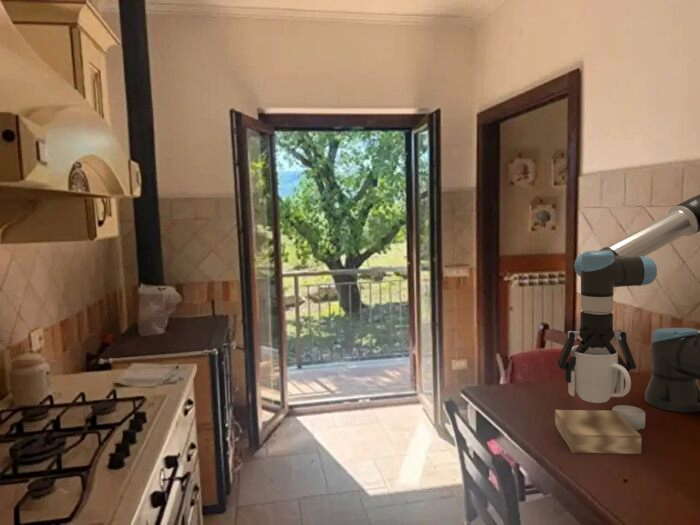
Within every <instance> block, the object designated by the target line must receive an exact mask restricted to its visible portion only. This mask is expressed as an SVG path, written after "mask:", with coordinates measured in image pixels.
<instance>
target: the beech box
mask: <svg viewBox="0 0 700 525" xmlns="http://www.w3.org/2000/svg"><path fill="white" fill-rule="evenodd" d="M554 415H555V416H554V421H555V422H554V426H555V428H556V429H557V431H558V433H559V434H560V435H561V437H562V439H563V440H564V441H565V443H566V445H567V446H568V448H569V450H570V451H571V453H577V454H579V453H580V454H581V453H587V454H588V453H589V454H596V453H597V454H623V455H624V454H625V455H626V454H629V455H642V435H641V434H640V433H639V432H638V430H635V429H634V428H633V427H632V426H631V425H630V424H629V423H628V422H627V421H626V420H625V419H624V418H623V417H622V416H621V415H620V414H619V413H618V412H617V411H612V410H603V409H602V410H600V409H599V410H598V409H594V410H593V409H591V410H590V409H589V410H588V409H586V410H585V409H583V410H582V409H581V410H580V409H572V410H571V409H554Z"/></svg>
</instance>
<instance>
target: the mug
mask: <svg viewBox="0 0 700 525" xmlns="http://www.w3.org/2000/svg"><path fill="white" fill-rule="evenodd" d="M578 346H579V344H578V345H575V346H574V345H573V347H572V349H571V352H570V356H571V355H572V356H576V364H575V366H574V367H573V368H572V369H573V370H574V371H575V393H577V396H578V397H579V398H580V399H581V400H583V401H585V402H588V403H591V404H592V403H593V404H603V403H607V402H608V401H609V400H610V399H611V398H621V396H623V397H624V396H626V395H627V394H628V393H629V392H630V391H631V388H632V386H631V385H632V381H631V376H630V374H629V372H628V371H627V370H626V369H625V368H624V367H623V366H621V365H619V364H618V354H619V353H618V350H617V349H615V350H616V353H615V354H612V355H611V354H610V353H609V351H608V350H607V348H606V347H604V348H598V347H597V348H590V347H589V348H588V350H586V351H585V352H584V354H582V353H578V352H575V350H576V349H577V347H578ZM618 370H620V371H621V372H622V374H623V376H624V378H625V383H624V391H623V392H621V393H616V392H615V391H616V382H617V374H618Z"/></svg>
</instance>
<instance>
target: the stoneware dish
mask: <svg viewBox="0 0 700 525" xmlns="http://www.w3.org/2000/svg"><path fill="white" fill-rule="evenodd" d="M611 411H617V412H618V413H619V414H620V415H621V416H622V417H623V418H624V419H625V420H626V421H627V422H628V423H629V424H630V425H631V426H632V427H633V428H634V429H635V430H636V431H641V430H643V429H645V428H646V411H645V410H643V409H642V408H639V407H637V406H632V405H628V404H627V405H625V404H619V405H618V404H617V405H615V406H612V409H611ZM640 429H641V430H640Z"/></svg>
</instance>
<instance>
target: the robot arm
mask: <svg viewBox="0 0 700 525" xmlns="http://www.w3.org/2000/svg"><path fill="white" fill-rule="evenodd" d="M697 233H700V193H699V194H698V195H696V196H692V197H689V199H686V200H684V201H683V202H680V203H679V204H677V205H674V206H673V207H672V208H670V209H669V211H668V213H667V214H665V215H664V216H662V217H660V218H657V219H656V220H653V221H652V222H650V223H648V224H646V225H644V226H643V227H641V228H639V229H637V230H635V231H633V232H631V233H629V234H628V235H625V236H624V237H621V238H620V239H618V240H616V241H615V242H612V243H610V244H609V245H607V246H605V247H603V248H601V249H599V250H586V251H583V253H580V254H579V255H578V256H577V257H576V259H575V260H574V264H573V265H574V266H573V267H574V272H575V273H576V274H577V276H579V277H580V310H582V311H580V314H579V316H580V321H579V322H580V323H579V324H580V326H579V330H578V331H572V330H571V329H570V330H569V329H568V330H567V331H566V340H565V343H564V346H563V347H562V350H561V353H560V355H559V357H558V360H557V362H556V365H557V366H558V367H559V368H560V369H562V370H564V380H565V382H566V383H567V384H568V385H567V386H568V387H567V388H568V392H567V393H568V394H569V395H570V396H571V397H575V392H576V389H575V371H574V370H573V369H572V368H573V367H574V366H575V364H576V356H572V355H571V349H572V347H574V344H575V341H576V340H577V339H578V337H580V339H581V340H580V342H579V343H578V345H579V346H578V347H577V349H576V350H575V352H578V353H582V354H584V352H585V351H586V350H588V348H589V347H590V348H597V347H598V348H604V347H606V348H607V350H608V351H609V353H610V354H611V355H612V354H615V353H616V350H617V349H615V347H614V345H613V344H612V343H611V342H612V340H613V338H615V339H617V341H618V344H619V347H620V349H621V351H622V354H623V357H624V360H625V362H626V363H625V362H624V360H623V359H622V357H621V355H620V354H619V353H618V364H619V365H621V366H623V367H624V368H625V369H626V370H627V371H628V373H629V372H630V370H636V368H637V365H636V363H635V360H634V357H633V354H632V351H631V349H630V347H629V343H628V341H627V333H626V332H625V331H623V330H622V329H619V330H617V331H615V330H614V314H613V313H612V312H613V311H614V290H615V288H620V287H622V288H623V287H636V286H638V287H641V286H648V285H650V284H652V283H654V281H655V280H656V278H657V275H658V267H657V264H656V262H655V261H654V260H653V258H651V257H649V256H647V255H650V254H652V253H653V252H655V251H658V250H659V249H661V248H663V247H665V246H666V245H669V244H670V243H673V242H674V241H676V240H677V239H680V238H681V237H683V236H684V237H691V236H693V235H695V234H697ZM698 380H700V329H696V328H692V327H663V328H657V329H656V330H654V331H653V334H652V341H651V377H650V380H649V381H648V385H647V387H646V389H645V392H644V401H645V402H646V403H647V404H648V405H650V406H652V407H654V408H658V409H660V410H663V411H669V412H676V413H687V414H689V413H698V412H700V385H699V382H698ZM624 389H625V378H624V376H623V374H622V372H621V371H620V370H618V374H617V382H616V387H615V393H621V392H623V391H624ZM621 397H622V398H624V396H621ZM621 397H620V398H621Z"/></svg>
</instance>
